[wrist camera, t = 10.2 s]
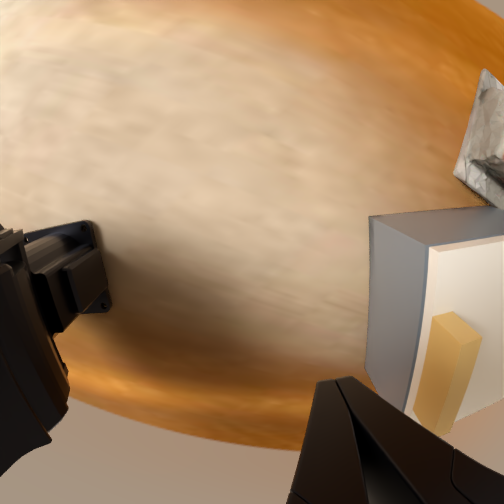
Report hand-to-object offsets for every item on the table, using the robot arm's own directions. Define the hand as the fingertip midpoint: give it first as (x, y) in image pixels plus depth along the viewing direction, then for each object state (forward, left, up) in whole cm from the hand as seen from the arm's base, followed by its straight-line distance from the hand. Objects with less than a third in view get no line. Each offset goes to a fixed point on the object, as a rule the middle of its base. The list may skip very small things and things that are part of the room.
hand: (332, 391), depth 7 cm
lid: (+12, -5, -6) cm, 14 cm away
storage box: (+11, -5, -13) cm, 18 cm away
